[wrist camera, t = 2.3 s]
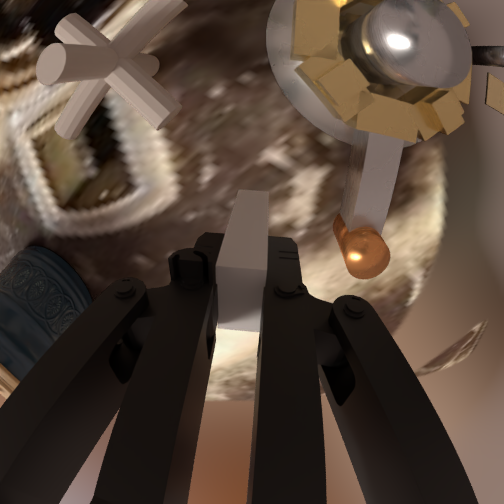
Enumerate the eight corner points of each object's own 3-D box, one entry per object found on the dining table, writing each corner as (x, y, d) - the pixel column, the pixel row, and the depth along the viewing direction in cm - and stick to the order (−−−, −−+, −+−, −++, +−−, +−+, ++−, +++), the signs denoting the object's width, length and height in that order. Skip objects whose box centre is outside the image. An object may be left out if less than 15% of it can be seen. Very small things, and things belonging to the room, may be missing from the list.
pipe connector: (155, -16, 11) (75, -64, 2) (249, 61, 14) (227, 29, 6) (71, 82, 15) (-27, 104, 6) (148, 159, 18) (67, 221, 10)
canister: (22, 222, 22) (-76, 330, 7) (107, 286, 26) (31, 432, 11) (19, 286, 28) (-42, 377, 13) (86, 337, 32) (38, 442, 17)
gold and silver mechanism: (271, -43, 9) (270, -104, 3) (507, 45, 9) (569, 53, 2) (260, 132, 17) (253, 161, 10) (491, 181, 17) (547, 225, 10)
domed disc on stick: (294, -35, 9) (301, -66, 5) (448, 12, 9) (484, 4, 5) (274, 235, 20) (274, 273, 16) (408, 248, 19) (430, 282, 16)
